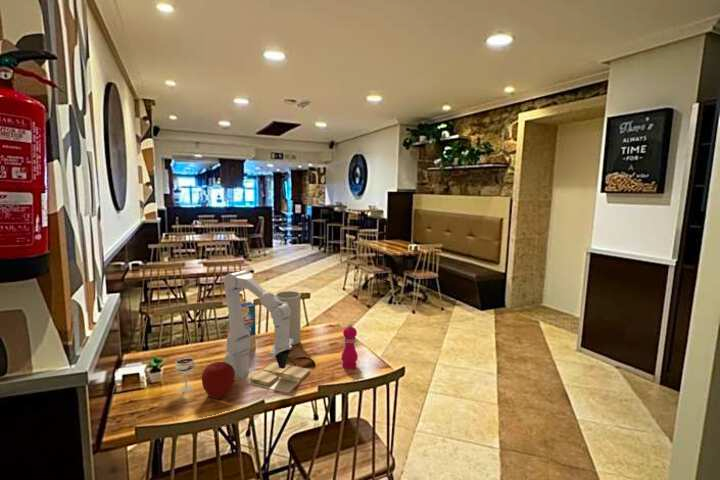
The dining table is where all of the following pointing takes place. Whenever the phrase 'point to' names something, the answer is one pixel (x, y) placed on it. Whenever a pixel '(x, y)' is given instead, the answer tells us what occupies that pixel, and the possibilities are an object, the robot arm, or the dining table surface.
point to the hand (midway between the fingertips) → (282, 367)
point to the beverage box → (248, 321)
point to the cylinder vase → (293, 313)
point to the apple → (218, 379)
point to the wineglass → (185, 370)
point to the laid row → (287, 370)
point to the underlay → (279, 384)
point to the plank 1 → (264, 378)
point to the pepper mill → (349, 348)
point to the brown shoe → (300, 358)
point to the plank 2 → (286, 376)
